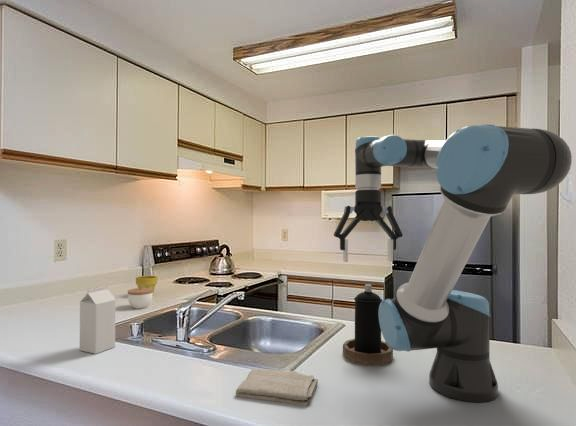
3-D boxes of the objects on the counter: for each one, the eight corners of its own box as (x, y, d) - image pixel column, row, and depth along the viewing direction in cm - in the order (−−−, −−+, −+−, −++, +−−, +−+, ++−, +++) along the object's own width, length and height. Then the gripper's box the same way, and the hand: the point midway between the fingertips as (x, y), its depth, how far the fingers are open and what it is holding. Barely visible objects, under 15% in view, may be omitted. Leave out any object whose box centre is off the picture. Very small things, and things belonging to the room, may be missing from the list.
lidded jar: (146, 303, 179) (146, 283, 179) (157, 307, 172) (157, 286, 172) (123, 307, 172) (123, 286, 172) (133, 311, 164) (134, 289, 164)
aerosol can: (365, 359, 107) (366, 288, 108) (348, 350, 115) (348, 283, 115) (387, 354, 111) (388, 286, 112) (369, 346, 119) (369, 281, 119)
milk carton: (115, 347, 120) (115, 286, 120) (95, 354, 113) (95, 290, 113) (99, 343, 123) (100, 284, 123) (79, 350, 116) (79, 288, 116)
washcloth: (310, 408, 83) (310, 394, 83) (233, 399, 87) (233, 385, 87) (319, 385, 95) (319, 372, 95) (250, 377, 99) (250, 365, 99)
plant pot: (159, 293, 201) (159, 275, 201) (154, 298, 190) (154, 278, 190) (139, 294, 200) (139, 275, 200) (132, 298, 190) (132, 278, 190)
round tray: (399, 364, 107) (399, 354, 107) (350, 366, 105) (350, 355, 105) (382, 347, 121) (382, 337, 121) (339, 348, 119) (339, 338, 119)
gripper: (404, 190, 118) (403, 259, 118) (324, 190, 116) (324, 260, 116) (414, 189, 110) (413, 262, 110) (329, 188, 108) (328, 263, 108)
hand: (368, 261), depth 113 cm, fingers open, 13 cm apart
